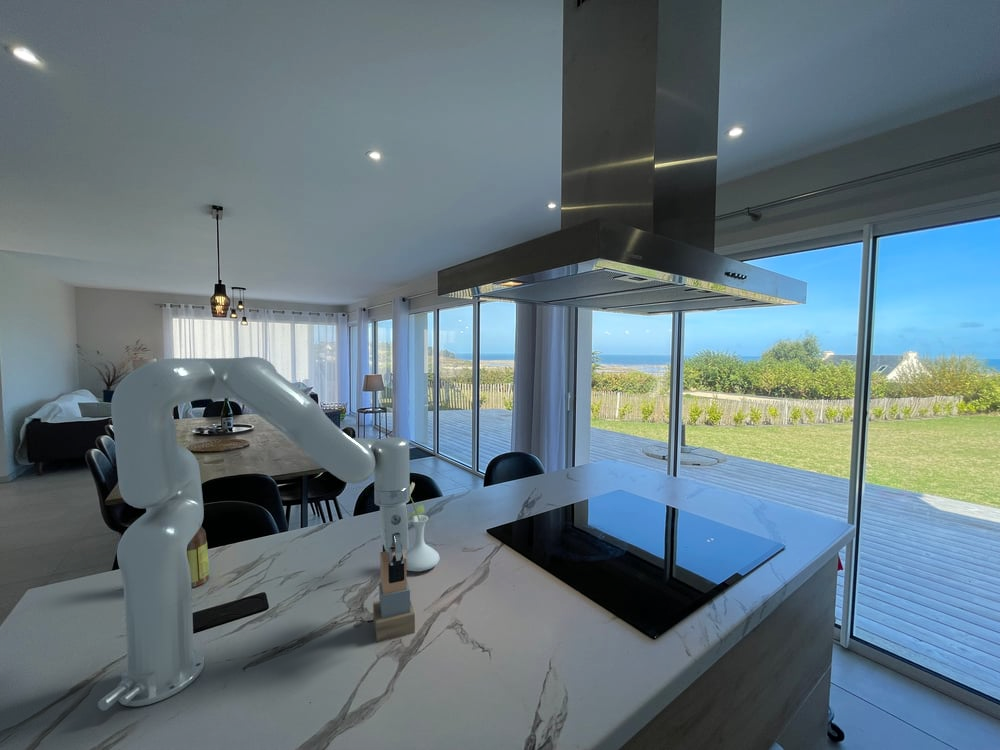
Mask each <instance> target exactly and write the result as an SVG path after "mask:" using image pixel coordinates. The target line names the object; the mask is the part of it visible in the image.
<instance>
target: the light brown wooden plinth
mask: <svg viewBox="0 0 1000 750" xmlns="http://www.w3.org/2000/svg"><path fill="white" fill-rule="evenodd" d="M372 614H373V615H372V616H373V617H372V620H373V627H374V633H375V638H376V643H380V642H383V641H387V639H388V640H392V639H396V638H400V637H403V636H408V635H411V634H415V633H416V631H415V630H416V628H415V627H416V616H415V610H414V608H413V604H412V601H411V600H410V612H409V613H405V614H400V615H395V616H391V617H386V618H382V616H381V609H380V601H379V600H376V601H372ZM407 634H408V635H407ZM391 638H392V639H391Z"/></svg>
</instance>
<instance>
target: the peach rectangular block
mask: <svg viewBox="0 0 1000 750" xmlns="http://www.w3.org/2000/svg"><path fill="white" fill-rule="evenodd" d="M379 555H380V556H379V558H380V559H379V560H380V562H379V563H380V564H379V565H380V566H379V567H380V581H381V586H382V591H383V594H387V593H392V592H396V591H401V590H406V589H407V582H408V578H407V575H408V574H407V571H408V570H407V564H406V556H405V549H403V558H404V580H403V581H400V582H395V583H389V573H388V564H390V559H389V553H388V552H386V551H385V552H383V551H380V552H379ZM394 555H395V553H392V557H393V556H394Z"/></svg>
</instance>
